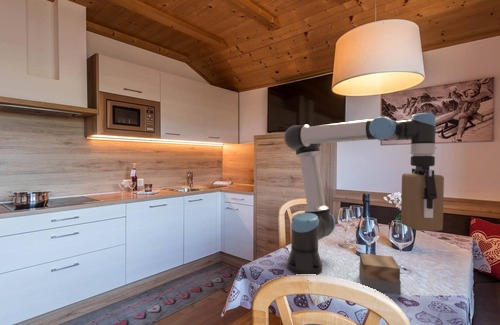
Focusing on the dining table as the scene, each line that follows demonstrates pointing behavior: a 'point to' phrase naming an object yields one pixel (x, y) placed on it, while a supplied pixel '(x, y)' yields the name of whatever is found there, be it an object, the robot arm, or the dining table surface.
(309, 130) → the robot arm
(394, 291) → the tower base slab
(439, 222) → the wooden block
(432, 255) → the dining table surface
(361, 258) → the tower top slab
